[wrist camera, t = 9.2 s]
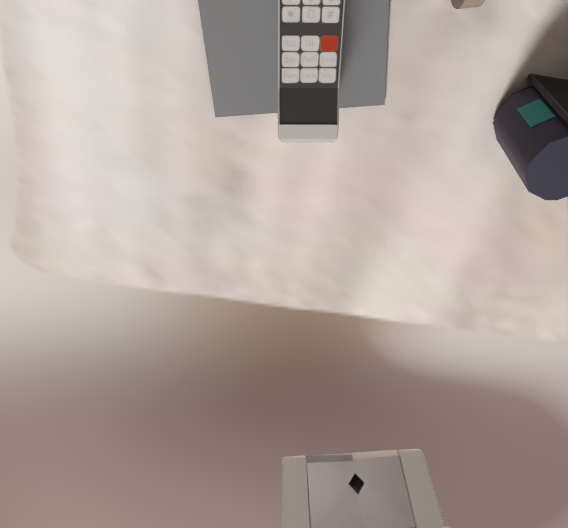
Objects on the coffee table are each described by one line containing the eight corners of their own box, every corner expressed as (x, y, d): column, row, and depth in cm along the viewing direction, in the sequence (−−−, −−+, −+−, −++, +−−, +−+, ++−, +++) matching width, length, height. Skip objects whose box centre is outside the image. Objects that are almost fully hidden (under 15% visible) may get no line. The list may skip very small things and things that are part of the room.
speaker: (542, 48, 33) (609, 102, 26) (590, 84, 34) (666, 143, 28) (473, 127, 36) (517, 192, 30) (520, 156, 38) (571, 224, 31)
